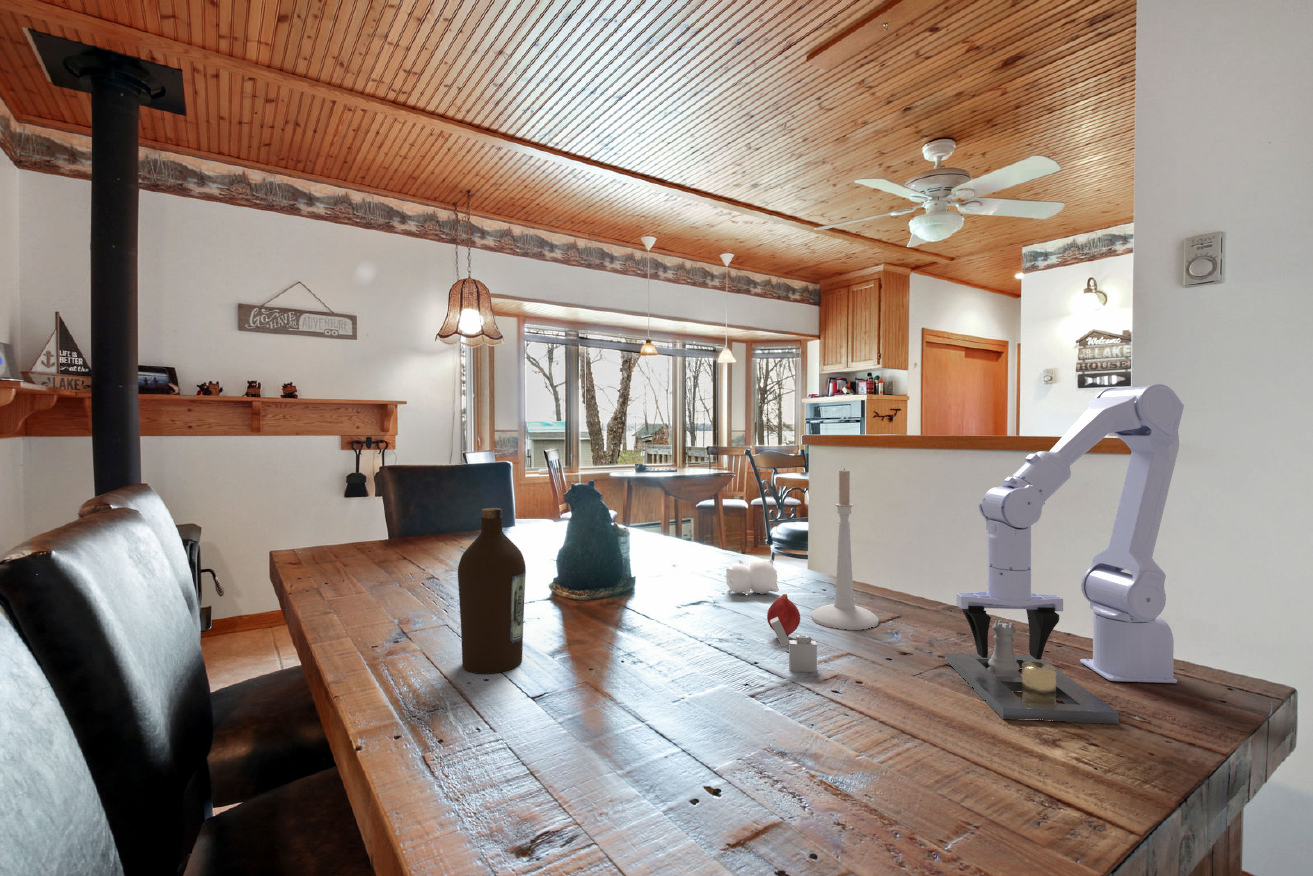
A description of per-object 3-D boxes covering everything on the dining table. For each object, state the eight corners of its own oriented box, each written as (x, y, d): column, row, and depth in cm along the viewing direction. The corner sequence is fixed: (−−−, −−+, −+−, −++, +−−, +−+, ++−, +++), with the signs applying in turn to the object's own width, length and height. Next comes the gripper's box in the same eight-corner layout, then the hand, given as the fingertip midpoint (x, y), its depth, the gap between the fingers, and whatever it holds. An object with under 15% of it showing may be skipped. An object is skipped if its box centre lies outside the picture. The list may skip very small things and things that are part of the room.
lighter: (815, 667, 99) (815, 617, 99) (817, 672, 97) (817, 620, 97) (769, 666, 100) (769, 616, 100) (770, 670, 98) (770, 619, 98)
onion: (764, 640, 112) (764, 595, 112) (770, 631, 117) (770, 588, 117) (797, 644, 110) (797, 599, 110) (802, 634, 115) (802, 591, 115)
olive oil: (450, 676, 96) (448, 513, 96) (468, 652, 107) (467, 505, 106) (519, 675, 96) (518, 513, 96) (531, 651, 107) (530, 504, 107)
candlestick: (885, 616, 126) (885, 467, 126) (869, 634, 115) (869, 471, 115) (822, 607, 133) (822, 465, 133) (801, 623, 122) (801, 469, 122)
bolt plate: (1039, 665, 100) (1039, 634, 100) (1118, 724, 80) (1118, 685, 80) (947, 662, 101) (947, 631, 101) (1003, 719, 81) (1003, 681, 81)
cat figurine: (725, 554, 142) (776, 551, 144) (718, 570, 151) (766, 567, 153) (731, 592, 138) (784, 588, 139) (723, 606, 147) (773, 603, 148)
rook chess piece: (1024, 681, 93) (1024, 628, 93) (990, 678, 95) (990, 625, 95) (1016, 670, 98) (1016, 619, 97) (984, 667, 99) (984, 617, 99)
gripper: (1046, 562, 98) (1045, 648, 98) (949, 560, 99) (949, 645, 100) (1071, 572, 91) (1070, 665, 91) (966, 570, 92) (966, 662, 93)
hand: (1008, 656), depth 95 cm, fingers open, 7 cm apart
